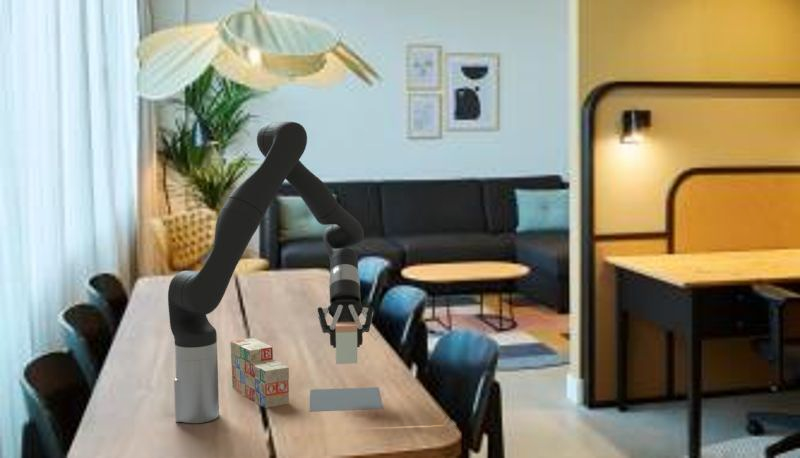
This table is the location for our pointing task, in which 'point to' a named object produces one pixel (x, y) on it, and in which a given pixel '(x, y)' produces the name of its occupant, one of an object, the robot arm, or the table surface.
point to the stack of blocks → (259, 373)
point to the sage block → (346, 343)
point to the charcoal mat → (345, 399)
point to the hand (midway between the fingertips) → (346, 345)
